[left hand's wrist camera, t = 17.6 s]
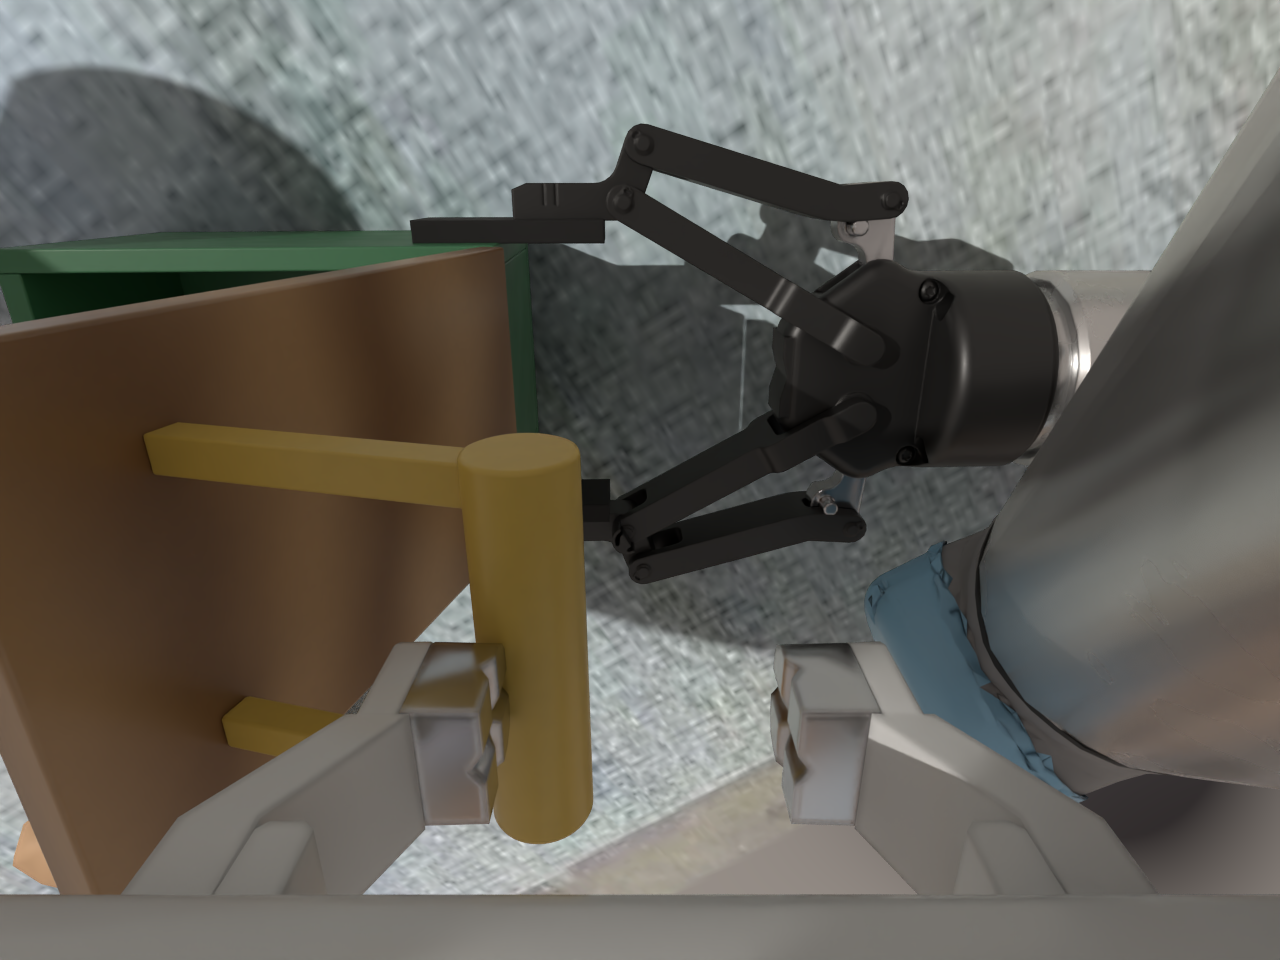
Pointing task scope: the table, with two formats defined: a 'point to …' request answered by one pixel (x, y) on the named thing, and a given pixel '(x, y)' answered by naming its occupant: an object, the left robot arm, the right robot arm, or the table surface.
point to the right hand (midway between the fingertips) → (436, 376)
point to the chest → (236, 276)
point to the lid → (272, 544)
